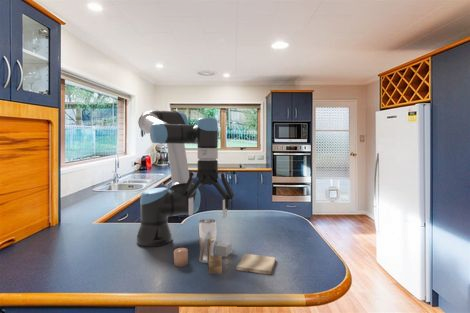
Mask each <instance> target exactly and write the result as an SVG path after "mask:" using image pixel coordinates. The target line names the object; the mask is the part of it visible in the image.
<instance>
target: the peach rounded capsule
mask: <svg viewBox="0 0 470 313" xmlns="http://www.w3.org/2000/svg"><path fill="white" fill-rule="evenodd" d="M188 253H189V250H188V248H185V247H179V248H175V249H174V250H173V266H175V267H185V266H187V265H188V264H189V261H188V260H189V258H188V257H189V256H188V255H189V254H188Z"/></svg>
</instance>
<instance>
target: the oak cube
mask: <svg viewBox="0 0 470 313" xmlns="http://www.w3.org/2000/svg"><path fill="white" fill-rule="evenodd" d="M211 273H212V274H223V256H222V255H215V256H209V263H208V274H210V275H211Z"/></svg>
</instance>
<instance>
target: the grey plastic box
mask: <svg viewBox="0 0 470 313" xmlns="http://www.w3.org/2000/svg"><path fill="white" fill-rule="evenodd" d="M232 245H233V243H232V242H227V241H222V240H221V241H219V242H218V243H215V247H214V255H215V256H216V255H222V257H223V256H227V257H228V256H230V254H232V251H233V250H232V249H233V246H232Z"/></svg>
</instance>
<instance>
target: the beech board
mask: <svg viewBox="0 0 470 313" xmlns="http://www.w3.org/2000/svg"><path fill="white" fill-rule="evenodd" d="M275 262H276V257H275V256H268V255H267V256H266V255H258V254H251V253H250V254H249V253H244V254H243V256H242V258H241V259H240V260H239V262H238V263H237V265H236V270H237V271H242V272H248V271H249V272H248V273H256V274H264V275H272V271H273V268H274V267H275V266H274V265H275Z"/></svg>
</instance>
